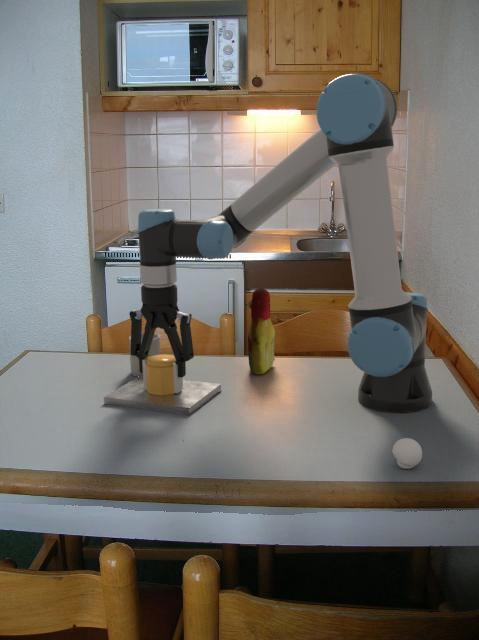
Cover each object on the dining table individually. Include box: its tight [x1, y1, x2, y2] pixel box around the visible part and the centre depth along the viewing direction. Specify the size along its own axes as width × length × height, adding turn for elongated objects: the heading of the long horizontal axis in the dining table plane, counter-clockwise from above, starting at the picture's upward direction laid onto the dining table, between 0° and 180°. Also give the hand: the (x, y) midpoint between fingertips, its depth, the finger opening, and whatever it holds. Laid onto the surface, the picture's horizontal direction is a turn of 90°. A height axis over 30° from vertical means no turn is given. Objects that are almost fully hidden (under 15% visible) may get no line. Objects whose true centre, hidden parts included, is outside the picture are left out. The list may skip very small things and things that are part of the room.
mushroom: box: [391, 437, 423, 470], centre depth 123 cm, size 5×5×5 cm
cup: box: [128, 332, 162, 377], centre depth 175 cm, size 7×10×9 cm
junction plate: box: [103, 375, 222, 416], centre depth 159 cm, size 20×16×6 cm
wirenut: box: [146, 354, 176, 396], centre depth 159 cm, size 7×7×7 cm
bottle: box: [247, 287, 276, 375], centre depth 175 cm, size 12×6×20 cm, turn 167°
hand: (163, 389), depth 160 cm, fingers closed on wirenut, 7 cm apart
